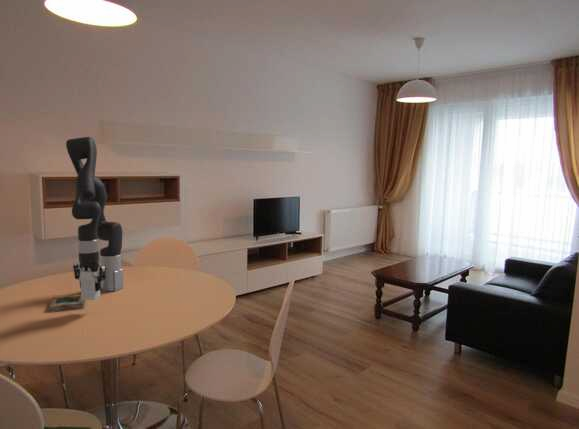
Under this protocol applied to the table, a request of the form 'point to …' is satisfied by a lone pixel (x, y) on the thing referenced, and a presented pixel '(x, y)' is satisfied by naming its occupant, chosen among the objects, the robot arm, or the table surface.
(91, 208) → the robot arm
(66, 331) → the table surface
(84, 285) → the skincare box
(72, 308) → the tray
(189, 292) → the table surface
